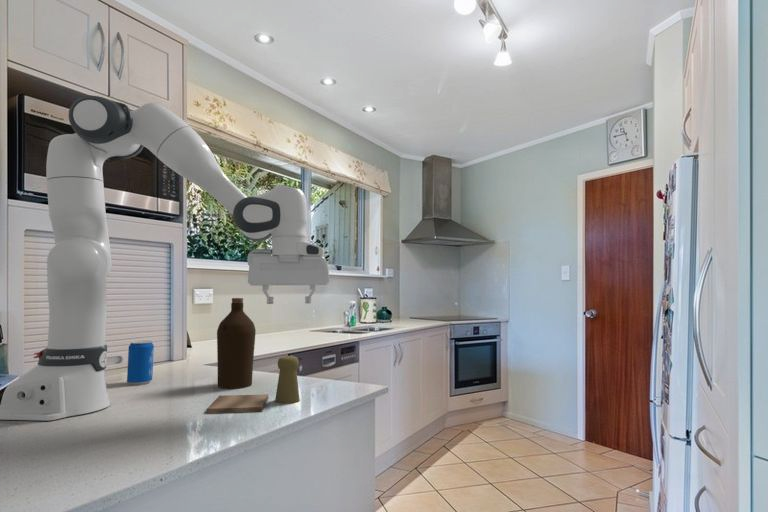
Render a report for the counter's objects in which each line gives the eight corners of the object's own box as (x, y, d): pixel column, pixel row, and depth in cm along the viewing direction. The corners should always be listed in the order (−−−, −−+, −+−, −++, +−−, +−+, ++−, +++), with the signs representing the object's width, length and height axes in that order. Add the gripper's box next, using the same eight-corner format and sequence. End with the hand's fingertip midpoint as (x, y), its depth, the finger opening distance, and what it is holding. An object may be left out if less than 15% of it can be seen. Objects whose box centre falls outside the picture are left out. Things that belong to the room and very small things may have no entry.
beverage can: (144, 385, 125) (146, 343, 126) (121, 385, 125) (124, 342, 126) (156, 380, 131) (158, 340, 132) (135, 380, 132) (137, 340, 132)
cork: (293, 404, 106) (294, 358, 107) (270, 403, 107) (271, 357, 108) (303, 398, 112) (304, 354, 113) (281, 397, 113) (282, 353, 114)
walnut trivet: (206, 413, 98) (207, 408, 98) (219, 399, 110) (219, 395, 110) (261, 411, 100) (262, 407, 100) (268, 398, 112) (268, 394, 112)
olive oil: (251, 389, 122) (254, 298, 124) (211, 390, 120) (214, 298, 122) (256, 380, 132) (258, 297, 134) (219, 381, 131) (222, 297, 132)
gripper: (245, 248, 107) (244, 304, 107) (329, 248, 110) (329, 303, 109) (249, 250, 114) (249, 303, 113) (329, 250, 116) (329, 302, 116)
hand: (289, 303), depth 111 cm, fingers open, 8 cm apart
